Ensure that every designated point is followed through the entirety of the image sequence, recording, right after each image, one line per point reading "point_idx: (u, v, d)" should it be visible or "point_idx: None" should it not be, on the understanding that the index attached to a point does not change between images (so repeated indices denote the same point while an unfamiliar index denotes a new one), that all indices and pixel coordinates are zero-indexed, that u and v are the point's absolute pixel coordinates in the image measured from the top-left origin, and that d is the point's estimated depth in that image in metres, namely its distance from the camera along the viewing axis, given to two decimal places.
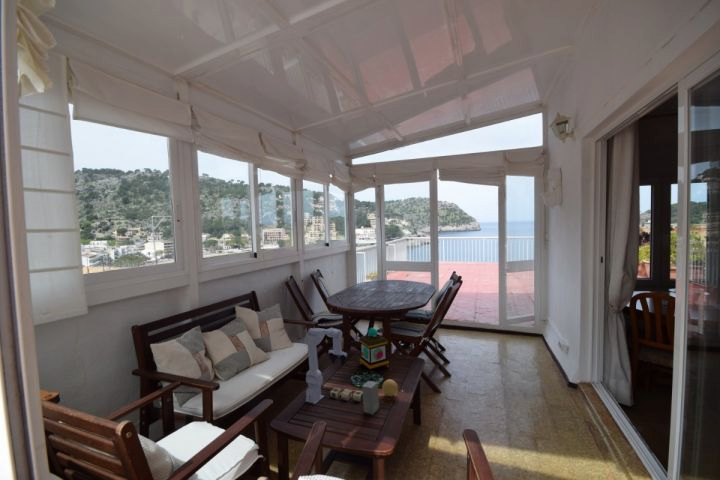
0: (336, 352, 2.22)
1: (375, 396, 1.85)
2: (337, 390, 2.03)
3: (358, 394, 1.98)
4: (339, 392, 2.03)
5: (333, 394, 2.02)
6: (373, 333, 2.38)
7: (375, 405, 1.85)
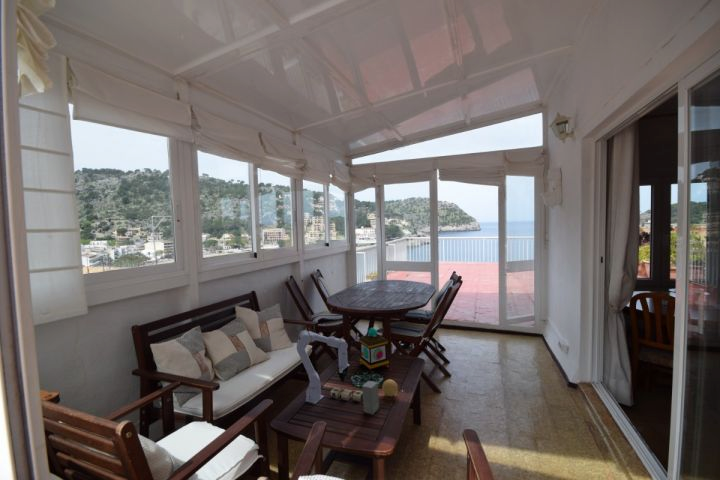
0: (339, 363, 2.06)
1: (375, 396, 1.85)
2: (337, 390, 2.03)
3: (358, 394, 1.98)
4: (339, 392, 2.03)
5: (333, 394, 2.02)
6: (373, 333, 2.38)
7: (375, 405, 1.85)
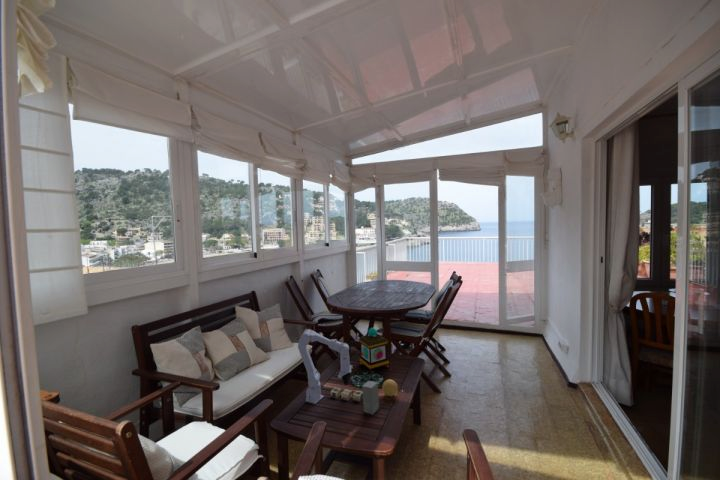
0: None
1: (375, 396, 1.85)
2: (337, 390, 2.03)
3: (358, 394, 1.98)
4: (339, 392, 2.03)
5: (333, 394, 2.02)
6: (373, 333, 2.38)
7: (375, 405, 1.85)
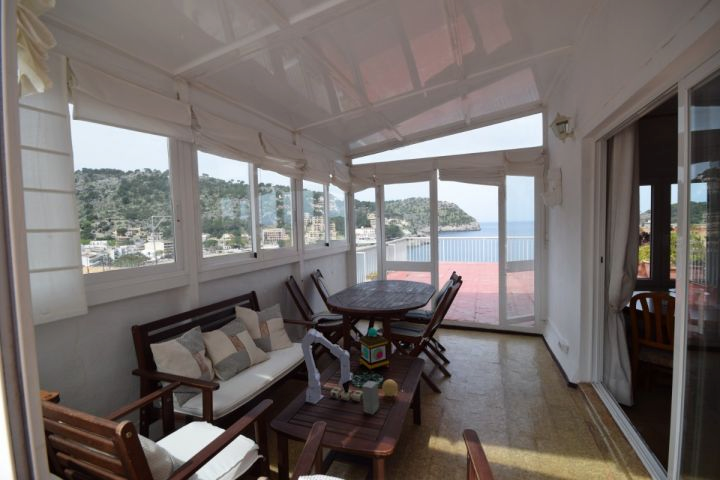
0: None
1: (375, 396, 1.85)
2: (337, 390, 2.03)
3: (357, 394, 1.98)
4: (339, 392, 2.03)
5: (333, 394, 2.02)
6: (373, 333, 2.38)
7: (375, 405, 1.85)
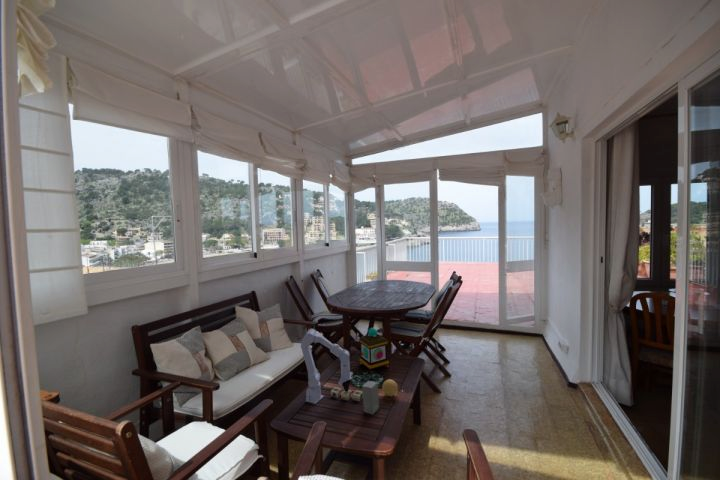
0: None
1: (374, 396, 1.85)
2: (337, 390, 2.04)
3: (357, 394, 1.98)
4: (339, 392, 2.03)
5: (333, 394, 2.02)
6: (373, 333, 2.38)
7: (375, 405, 1.85)
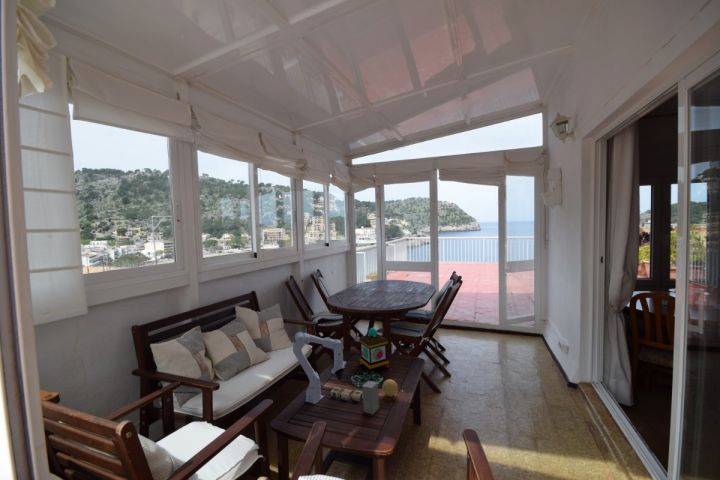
0: None
1: (375, 396, 1.85)
2: (337, 390, 2.04)
3: (357, 394, 1.98)
4: (339, 392, 2.03)
5: (333, 394, 2.02)
6: (373, 333, 2.38)
7: (375, 405, 1.85)
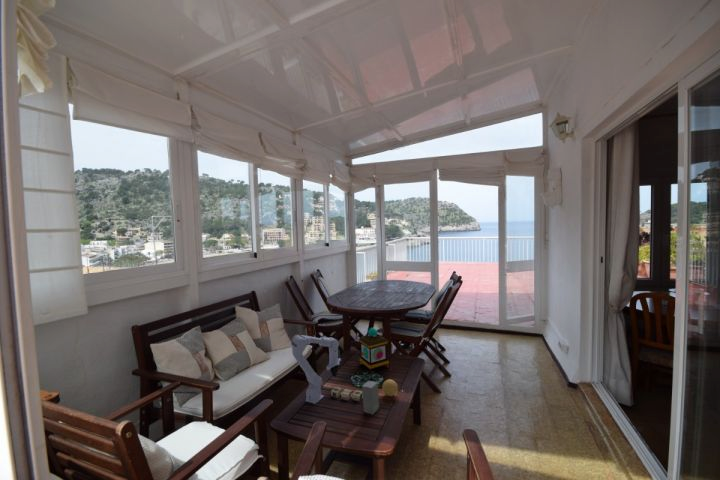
0: None
1: (375, 396, 1.85)
2: (338, 390, 2.04)
3: (357, 394, 1.98)
4: (340, 392, 2.04)
5: (334, 393, 2.02)
6: (373, 333, 2.38)
7: (375, 405, 1.85)
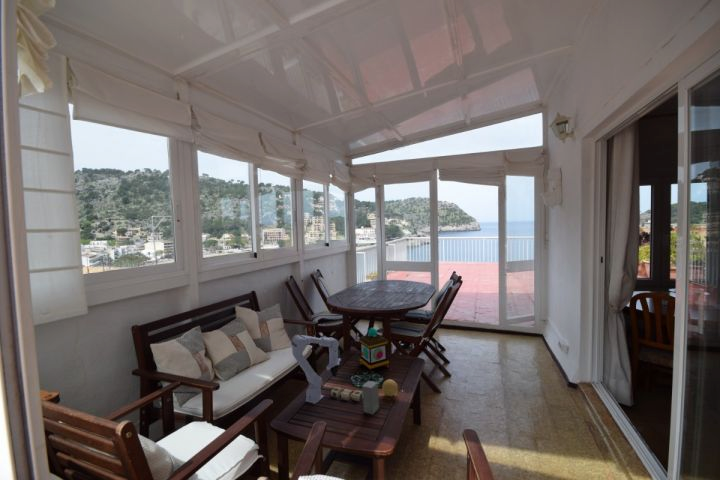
0: None
1: (375, 396, 1.85)
2: (338, 389, 2.04)
3: (357, 394, 1.98)
4: (340, 391, 2.04)
5: (334, 393, 2.02)
6: (373, 333, 2.38)
7: (375, 405, 1.85)
